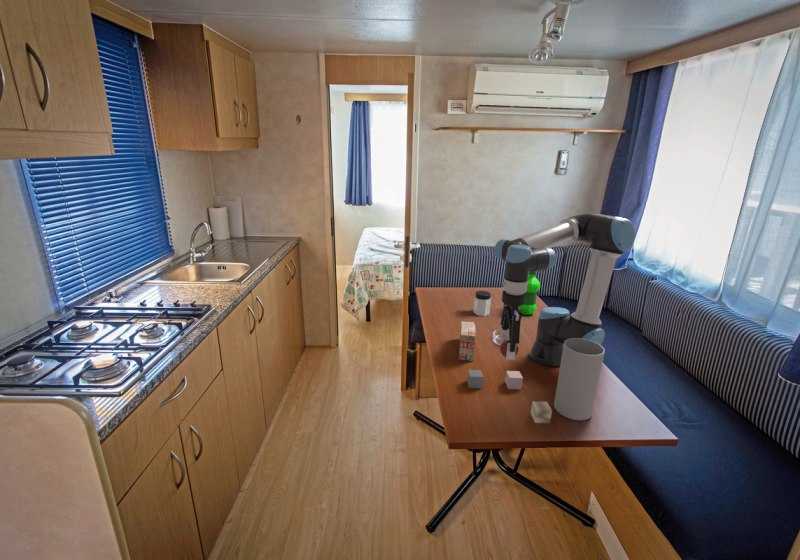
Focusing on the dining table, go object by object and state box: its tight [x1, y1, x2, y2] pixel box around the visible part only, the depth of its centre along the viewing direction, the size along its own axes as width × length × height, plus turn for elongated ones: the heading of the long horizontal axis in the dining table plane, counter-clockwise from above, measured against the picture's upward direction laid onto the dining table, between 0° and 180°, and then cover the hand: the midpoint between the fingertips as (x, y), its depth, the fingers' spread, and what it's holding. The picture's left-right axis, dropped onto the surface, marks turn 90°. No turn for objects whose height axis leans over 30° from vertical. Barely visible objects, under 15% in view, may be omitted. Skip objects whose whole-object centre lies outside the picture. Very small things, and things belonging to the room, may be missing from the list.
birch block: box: [530, 400, 553, 424], centre depth 138 cm, size 5×5×5 cm
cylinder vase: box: [553, 338, 606, 421], centre depth 140 cm, size 12×12×25 cm
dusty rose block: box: [504, 370, 524, 390], centre depth 157 cm, size 5×5×5 cm
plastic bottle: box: [518, 272, 541, 316], centre depth 226 cm, size 10×10×25 cm
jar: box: [472, 290, 492, 317], centre depth 226 cm, size 9×8×12 cm
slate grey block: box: [466, 369, 484, 389], centre depth 157 cm, size 5×5×5 cm
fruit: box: [499, 335, 519, 358], centre depth 142 cm, size 6×6×8 cm
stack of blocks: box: [458, 320, 477, 362], centre depth 184 cm, size 21×6×12 cm, turn 171°
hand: (506, 352), depth 143 cm, fingers closed on fruit, 8 cm apart
